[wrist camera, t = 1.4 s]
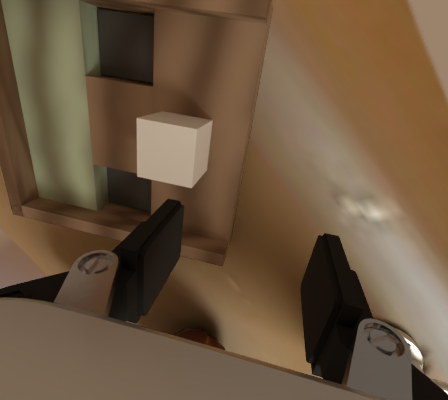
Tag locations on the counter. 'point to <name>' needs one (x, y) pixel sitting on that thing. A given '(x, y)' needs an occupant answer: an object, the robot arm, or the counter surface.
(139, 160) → the block
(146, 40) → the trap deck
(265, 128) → the counter surface
